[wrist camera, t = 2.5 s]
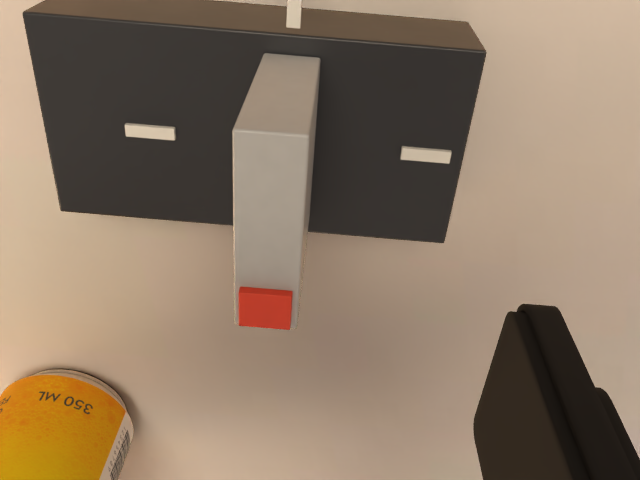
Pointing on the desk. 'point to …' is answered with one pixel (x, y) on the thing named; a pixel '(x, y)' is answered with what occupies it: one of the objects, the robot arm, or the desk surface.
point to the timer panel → (228, 98)
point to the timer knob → (273, 190)
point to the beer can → (62, 428)
